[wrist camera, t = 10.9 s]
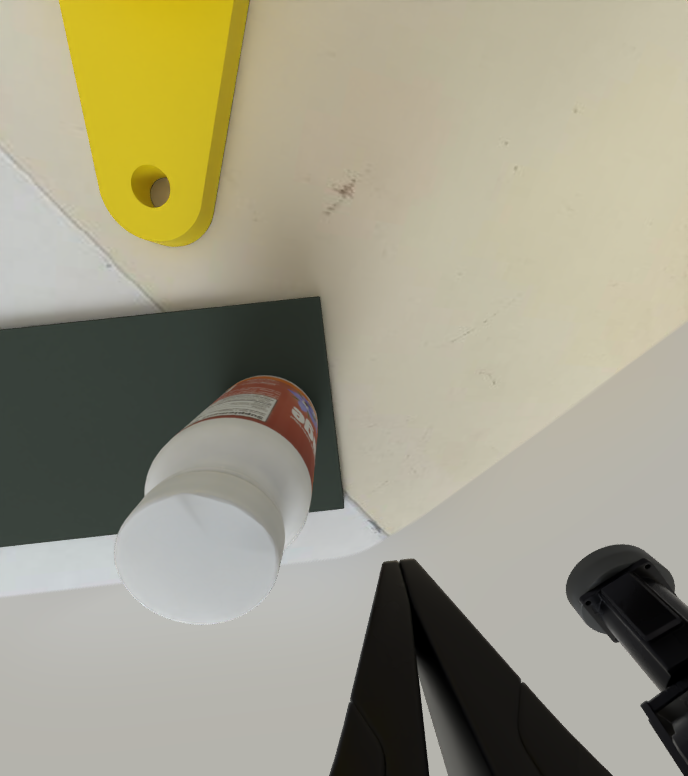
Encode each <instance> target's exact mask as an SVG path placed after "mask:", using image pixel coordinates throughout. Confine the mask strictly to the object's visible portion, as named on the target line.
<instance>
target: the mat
mask: <svg viewBox="0 0 688 776" xmlns="http://www.w3.org/2000/svg"><path fill="white" fill-rule="evenodd" d="M261 375H268V376H276V377H280V378H283V379H286V380H288V381H290V382H292V383H293V384H295V385H296V386H298V387H299V388H300V389H301V390H302V391H303V392H304V393H305V394H306V395H307V396H308V398H309V399H310V401H311V402H312V404H313V406H314V409H315V411H316V414H317V420H318V434H317V444H316V455H315V467H314V477H313V487H312V497H311V502H310V507H309V512H317V511H326V510H335V509H343V508H344V499H343V490H342V482H341V473H340V465H339V456H338V448H337V439H336V431H335V422H334V413H333V405H332V396H331V388H330V379H329V371H328V362H327V354H326V345H325V337H324V328H323V319H322V311H321V302H320V297H319V296H318V297H309V298H299V299H289V300H280V301H270V302H261V303H251V304H242V305H232V306H223V307H213V308H203V309H194V310H184V311H175V312H165V313H156V314H146V315H137V316H127V317H117V318H108V319H98V320H89V321H79V322H70V323H60V324H51V325H41V326H31V327H22V328H12V329H3V330H0V547H7V546H15V545H24V544H33V543H42V542H51V541H60V540H69V539H78V538H86V537H95V536H104V535H113V534H118V532H119V530H120V528H121V526H122V524H123V523H124V521H125V520H126V518H127V517H128V516H129V515H130V514H131V512H132V511H133V510H134V509H135V508H136V506H137V505H138V504H139V503H140V502H141V501H142V499H143V498H144V497H145V496H144V493H145V483H146V478H147V474H148V471H149V469H150V467H151V464H152V462H153V460H154V459H155V457H156V456H157V454H158V453H159V452H160V450H161V449H162V448H163V447H164V446H165V445H166V444H167V443H168V442H169V441H170V440H171V439H172V438H173V437H174V436H175V435H176V434H177V433H179V432H180V431H181V430H182V429H183V428H185V427H186V426H187V425H188V424H189V423H190V422H192V421H193V420H194V419H195V418H196V417H197V416H198V415H200V414H201V413H202V412H203V411H204V410H205V409H206V408H208V407H209V406H210V405H211V404H212V403H213V402H214V401H216V400H217V399H218V398H219V397H220V396H221V395H223V394H224V393H225V392H226V391H227V390H228V389H229V388H231V387H232V386H233V385H235V384H236V383H238V382H240V381H242V380H244V379H247V378H250V377H254V376H261Z"/></svg>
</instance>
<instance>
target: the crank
mask: <svg viewBox="0 0 688 776" xmlns="http://www.w3.org/2000/svg"><path fill="white" fill-rule="evenodd" d="M59 4H60V8H61V13H62V18H63V22H64V27H65V32H66V36H67V41H68V45H69V50H70V55H71V59H72V64H73V69H74V73H75V78H76V83H77V87H78V92H79V97H80V101H81V106H82V111H83V115H84V120H85V125H86V129H87V134H88V139H89V143H90V148H91V152H92V157H93V162H94V166H95V171H96V176H97V180H98V185H99V190H100V194H101V197H102V199H103V202H104V204H105V206H106V208H107V209H108V211H109V212H110V214H111V215H112V217H113V218H114V219H115V220H116V221H117V222H118V223H119V224H120V225H121V226H122V227H123V228H124V229H125V230H127V231H128V232H130V233H131V234H133V235H135V236H137V237H139V238H142V239H145V240H148V241H151V242H155V243H158V244H161V245H165V246H171V247H178V246H184V245H188V244H190V243H193V242H194V241H196V240H198V239H199V238H200V237H201V236H202V235H203V234H204V233H205V232H206V230H207V229H208V227H209V225H210V223H211V221H212V218H213V213H214V207H215V201H216V196H217V190H218V184H219V178H220V172H221V166H222V160H223V154H224V148H225V142H226V136H227V130H228V124H229V118H230V113H231V107H232V101H233V95H234V89H235V83H236V77H237V71H238V65H239V59H240V53H241V47H242V41H243V35H244V30H245V24H246V18H247V12H248V6H249V0H59ZM164 177H166V178H167V179H168V181H169V184H170V195H169V198H168V200H167V202H166V203H165V204H164V205H162V206H160V207H156V208H155V207H154V206H153V204H152V201H151V198H150V190H151V187H152V185H153V183H154V182H155V181H156V180H157V179H160V178H164Z"/></svg>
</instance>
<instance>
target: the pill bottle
mask: <svg viewBox="0 0 688 776" xmlns="http://www.w3.org/2000/svg"><path fill="white" fill-rule="evenodd" d="M317 434H318V420H317V414H316V411H315V409H314V406H313V404H312V402H311V401H310V399H309V398H308V396H307V395H306V394H305V393H304V392H303V391H302V390H301V389H300V388H299V387H298V386H296V385H295V384H293V383H292V382H290V381H288V380H286V379H283V378H280V377H276V376H268V375H261V376H254V377H250V378H247V379H244V380H242V381H240V382H238V383H236V384H235V385H233V386H232V387H231V388H229V389H228V390H227V391H226V392H225V393H224V394H223V395H221V396H220V397H219V398H218V399H217V400H216V401H214V402H213V403H212V404H211V405H210V406H209V407H208V408H206V409H205V410H204V411H203V412H202V413H201V414H200V415H198V416H197V417H196V418H195V419H194V420H193V421H192V422H190V423H189V424H188V425H187V426H186V427H185V428H183V429H182V430H181V431H180V432H179V433H177V434H176V435H175V436H174V437H173V438H172V439H171V440H170V441H169V442H168V443H167V444H166V445H165V446H164V447H163V448H162V449H161V450H160V452H159V453H158V454H157V456H156V457H155V459H154V460H153V462H152V464H151V467H150V469H149V471H148V474H147V478H146V483H145V493H144V496H145V497H144V498H143V499H142V501H141V502H140V503H139V504H138V505H137V506H136V508H135V509H134V510H133V511H132V512H131V514H130V515H129V516H128V517H127V518H126V520H125V521H124V523H123V524H122V526H121V528H120V530H119V532H118V535H117V538H116V542H115V548H114V560H115V566H116V569H117V572H118V575H119V577H120V579H121V581H122V583H123V584H124V586H125V587H126V589H127V590H128V591H129V593H130V594H131V595H132V596H133V597H134V598H135V599H136V600H137V601H138V602H139V603H140V604H142V605H143V606H144V607H146V608H147V609H149V610H151V611H153V612H154V613H156V614H158V615H160V616H162V617H165V618H168V619H170V620H174V621H178V622H182V623H188V624H199V625H204V624H216V623H221V622H226V621H229V620H232V619H235V618H238V617H240V616H242V615H244V614H246V613H248V612H249V611H251V610H252V609H254V608H255V607H257V606H258V605H259V604H260V603H261V602H262V601H263V600H264V599H265V598H266V596H267V595H268V594H269V592H270V591H271V589H272V587H273V585H274V583H275V581H276V579H277V576H278V571H279V567H280V563H281V559H282V555H283V551H284V550H285V549H286V548H287V547H288V546H289V545H290V544H291V543H292V542H293V541H294V540H295V539H296V537H297V536H298V534H299V533H300V531H301V529H302V528H303V526H304V524H305V521H306V519H307V516H308V512H309V507H310V502H311V497H312V487H313V477H314V467H315V455H316V444H317Z"/></svg>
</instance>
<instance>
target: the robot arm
mask: <svg viewBox="0 0 688 776" xmlns="http://www.w3.org/2000/svg"><path fill="white" fill-rule="evenodd" d="M579 602H580V603H581V604H582V605H583V607H584V608H585V609H586V610H587V611H588V612H589V614H590V615H591V616H592V617H593V618H594V620H595V621H596V622H597V623H598V624H599V625H600V627H601V628H602V629H603V630H604V631H605V632H606V634H607V635H608V636H609V637H610V638H611V640H612V641H613V642H616V643H617V642H620V643H621V644H622V646H623V647H624V648H625V649H626V650H627V651H628V653H629V654H630V655H631V656H632V658H633V659H634V660H635V661H636V662H637V663H638V665H639V666H640V667H641V668H642V669H643V671H644V672H645V673H646V674H647V675H648V677H649V678H650V679H651V680H652V681H653V683H654V684H655V685H656V686H657V687H658V689H659V690H660V691H661V693H659V694H658V695H657V696H655V697H654V698H652V699H651V700H650V701H645V702H643V703H642V704H641V707H642V709H643V710H644V712H645V713H646V715H647V716H648V718H649V722H650V724H651V725H652V727H653V728H654V730H655V731H656V733H657V734H658V736H659V738H660V739H661V741H662V742H663V744H664V746H665V747H666V749H667V750H668V752H669V753H670V755H671V756H672V758H673V759H674V761H675V762H676V764H677V766H678V767H679V768H680V770H681V772H682V773H683V775H684V776H688V606H686V605H685V604H684V603H683V602H682V601H681V600H680V599H678V597H677V596H676V594H675V593H674V592H673V590H672V589H671V587H670V586H669V585H668V583H667V582H666V580H665V579H664V578H663V576H662V575H661V573H660V572H659V571H658V569H657V568H656V566H655V565H654V564H653V563H652V562H651V561H650V560H649V559H647V558H642V559H640V560H638V561H637V562H635V563H633V564H632V565H630V566H628V567H627V568H625V569H624V570H622V571H620V572H619V573H617V574H616V575H614V576H612V577H611V578H609V579H608V580H606V581H604V582H603V583H601V584H599V585H598V586H596V587H595V588H593V589H591V590H590V591H588V592H587V593H585V594H583V595H582V596H581V597H580V598H579ZM418 675H419V676H418ZM419 678H420V681H421V685H422V688H423V692H424V695H425V699H426V702H427V705H428V709H429V712H430V715H431V719H432V722H433V726H434V729H435V732H436V736H437V739H438V742H439V746H440V749H441V753H442V755H443V759H444V763H445V766H446V769H447V773H448V776H613V775H612V774H611V773H610V772H609V771H608V770H606V768H604V766H602V765H601V764H600V763H599V762H598V761H597V760H596V759H595V758H594V757H593V756H592V755H591V753H589V752H588V750H587V749H586V748H585V747H584V746H582V744H580V742H578V741H577V739H575V738H574V737H573V736H572V735H571V733H570V732H569V731H568V730H567V729H566V728H565V727H564V726H563V725H562V724H561V723H560V722H559V721H558V720H557V719H556V717H555V716H554V715H553V714H552V713H551V712H550V711H549V710H548V709H547V708H546V707H545V705H544V704H543V703H542V702H541V701H540V700H539V699H538V698H537V697H536V695H535V694H534V693H533V692H532V691H531V690H530V689H529V687H528V686H527V685H526V684H525V683H523V682H522V683H521V679H520V677H519V676H518V675H517V674H516V673H515V672H514V671H513V670H512V668H510V666H509V665H508V664H507V663H506V662H505V660H504V659H503V658H502V657H501V656H500V655H499V654H498V653H497V652H496V650H495V649H494V648H493V647H492V646H491V645H490V643H489V642H488V641H487V640H486V639H485V638H484V637H483V636H482V634H481V633H480V632H479V631H478V630H477V629H476V628H475V627H474V625H473V624H472V623H471V622H470V621H469V620H468V619H467V617H466V616H465V615H464V614H463V613H462V612H461V611H460V610H459V609H458V607H457V606H456V605H455V604H454V603H453V602H452V601H451V599H450V598H449V597H448V596H447V595H446V594H445V593H444V592H443V590H442V589H441V588H440V587H439V586H438V585H437V584H436V582H435V581H434V580H433V579H432V578H431V577H430V576H429V575H428V574H427V572H426V571H425V570H424V569H423V568H422V567H421V565H420V564H419V563H418V562H417V561H416V560H415V559H404V560H400V561H399V562H398V561H397V560H395V561H386V562H383V564H382V567H381V571H380V576H379V580H378V584H377V588H376V592H375V597H374V601H373V605H372V609H371V613H370V618H369V622H368V626H367V630H366V634H365V639H364V643H363V647H362V651H361V655H360V660H359V664H358V668H357V672H356V676H355V681H354V685H353V689H352V693H351V698H350V701H351V702H350V703H349V705H348V709H347V713H346V717H345V721H344V726H343V729H342V733H341V737H340V740H339V744H338V748H337V752H336V755H335V759H334V762H333V765H332V768H331V772H330V775H329V776H429V769H428V759H427V750H426V741H425V731H424V722H423V713H422V704H421V694H420V686H419Z"/></svg>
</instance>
